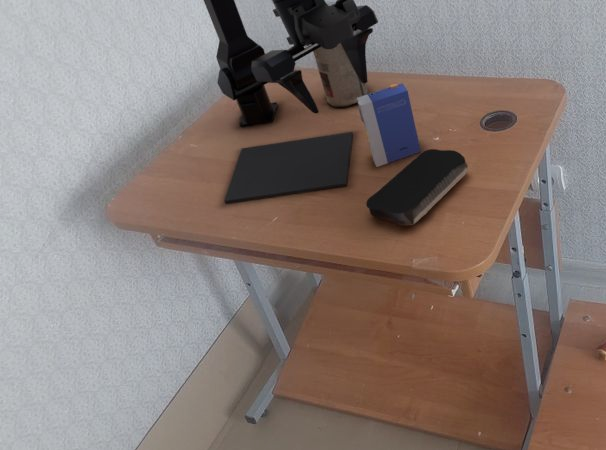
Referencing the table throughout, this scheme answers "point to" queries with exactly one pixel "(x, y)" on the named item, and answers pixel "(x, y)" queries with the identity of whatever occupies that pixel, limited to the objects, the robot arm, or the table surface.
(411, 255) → the table surface
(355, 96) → the beige cylindrical container
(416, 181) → the black sponge
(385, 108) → the walkman
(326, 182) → the mat
